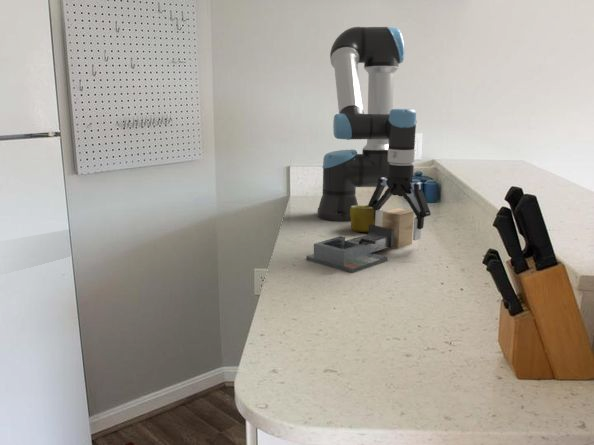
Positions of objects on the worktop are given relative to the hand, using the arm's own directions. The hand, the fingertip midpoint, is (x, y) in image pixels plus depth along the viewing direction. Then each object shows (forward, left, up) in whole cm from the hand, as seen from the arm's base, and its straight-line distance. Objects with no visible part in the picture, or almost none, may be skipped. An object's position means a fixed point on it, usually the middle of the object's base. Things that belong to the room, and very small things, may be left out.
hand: (397, 235), depth 174 cm
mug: (-18, +8, -3) cm, 20 cm away
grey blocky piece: (+1, -14, -1) cm, 14 cm away
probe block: (0, 0, -3) cm, 3 cm away
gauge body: (0, -22, -3) cm, 23 cm away
